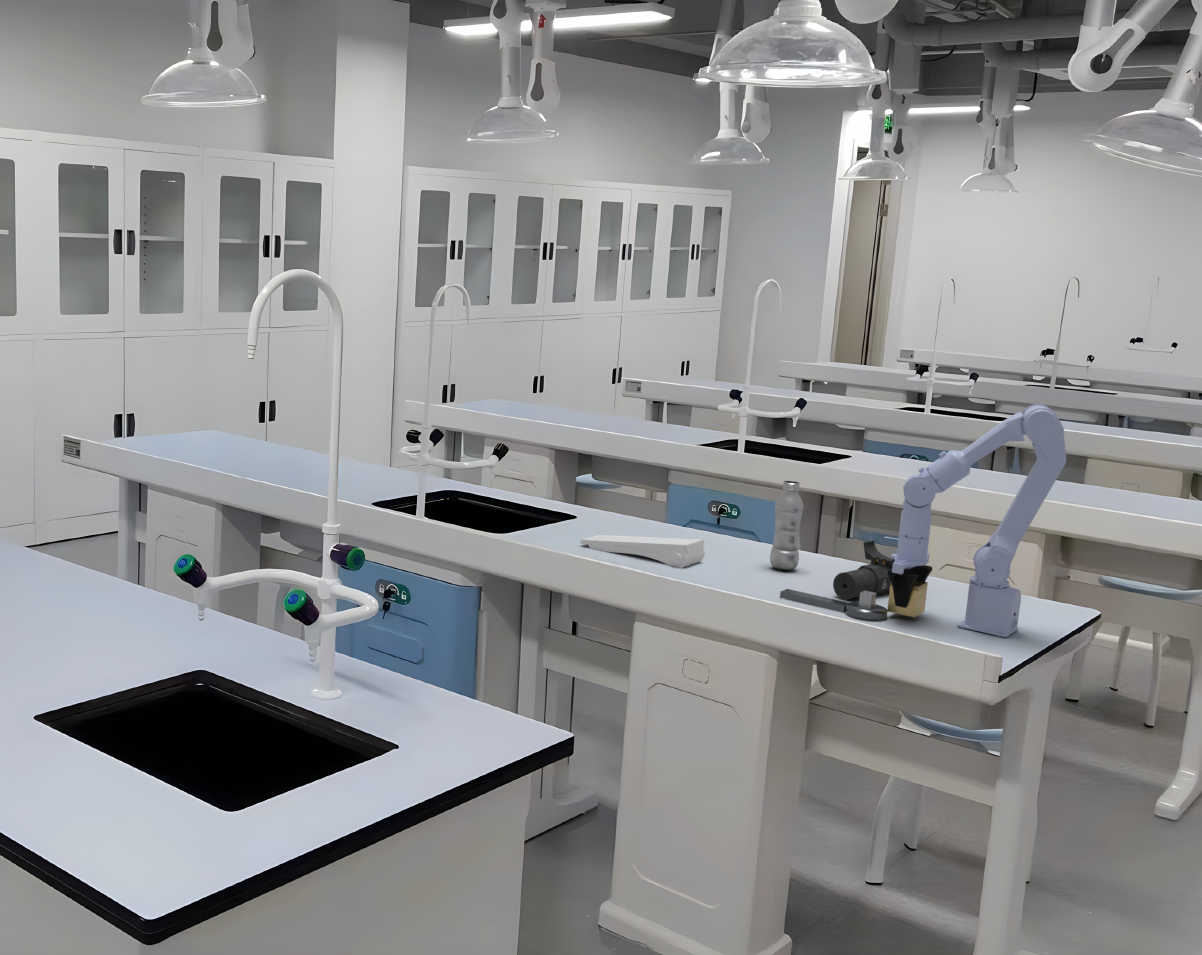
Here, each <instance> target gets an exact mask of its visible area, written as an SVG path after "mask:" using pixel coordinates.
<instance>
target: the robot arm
mask: <svg viewBox="0 0 1202 955" xmlns="http://www.w3.org/2000/svg"><path fill="white" fill-rule="evenodd" d="M1025 435H1026V436H1027V437H1028V439H1029V440H1030V441H1031V445H1032V447H1033V450H1034V453H1035V456H1036V460H1035V462H1034V463H1033V466H1032V467H1031V469H1030V471H1029V473H1028V474H1027V476H1026V478H1025V480H1024V481H1023V483H1022V484H1021V487H1020V488H1019V490H1018V492H1017V493H1016V496H1015V497H1014V499H1013V500H1012V502H1011V503H1010V506H1009V508H1008V509H1007V511H1006V513H1005V514H1004V516H1003V518H1002V520H1001V521H1000V523H999V525H998V527H997V528H996V530H995V531H994V533H993V534H991V536H990V537H989V539H988V541H987V542H986V543H985V544H984V545H983V546H981V547H979V548H978V549H977V550H976V552H975V553H974V555H973V566H974V572H975V573H974V574H973V575H972V576H970V578H969V585H968V593H967V601H966V608H965V617H964V620H962V621H960V622H959V623H957V625H956V626H957V627H958V628H962V629H966V630H971V631H976V632H981V633H985V634H989V635H994V636H999V637H1003V638H1008V637H1009V636H1010V635H1012V634H1013V633H1014V632H1016V631H1018V629H1019V627H1018V624H1019V617H1020V608H1021V602H1022V592H1021V590H1020V589H1018V588H1014V587H1012V586H1011V585H1010V582H1009V580H1008V579H1009V577H1010V576H1011V574H1010V573H1011V564H1012V561H1013V560H1014V558H1015V556H1016V553H1017V550H1018V547H1019V544H1020V543H1021V541H1022V539H1023V538H1024V536H1025V534H1026V532H1027V530H1029V527H1030V525H1031V524H1032V522H1033V520H1034V518H1035V517H1036V515H1037V514H1038V511H1039V510H1040V508H1041V506H1042V505H1043V504H1044V501H1045V499H1046V498H1047V496H1048V495H1049V493H1050V491H1051V489H1052V488H1053V486H1054V485H1055V482H1056V481H1057V479H1058V477H1059V475H1060V474H1061V472H1062V471H1063V469H1064V467H1065V465H1066V463H1067V455H1066V454H1067V452H1066V441H1065V428H1064V426H1063V424H1062V422H1061V420H1060V418H1059V416H1058V415H1057V413H1056V412H1055V411H1054V410H1052V409H1051V408H1050V407H1048V406H1046V405H1045V404H1041V403H1035V404H1031V405H1028V406H1027V407H1025V409H1024V410H1023V411H1022V412H1021V411H1019V412H1016V413H1015V414H1013V415H1011V416H1009V417H1008V418H1006V419H1004V420H1002V421H1001V422H999V424H997V425H996V426H994V427H993V428H991V429H990V430H989V431H987V432H986V433H984V434H983V435H982V436H981V437H979V438H977V440H975V441H973V442H972V443H971V444H969V445H968V446H967V447H965V448H964V449H963V450H955V449H954V450H953V449H950V450H949V451H948V452H946V451H945V450H943V451H941V452H940V453H939V454H938V456H939V458H937V459H936V460H934V461H933V462H931V463H930V464H928V465H927V466H926V467H924V466H922V467H919V468H918V472H919V473H916V474H912V475H910V476H909V477H908V478H907V479H906V481H905V483H904V485H903V486H902V487H903V496H904V500H903V502H902V510H901V513H900V521H899V529H898V531H899V532H898V541H897V550H896V553H892V554H890V558H891V559H895V562H894V563H893V567H892V568H890V569H888V576H889V578H890V580H891V583H892V587H893V593H894V600H895V606H899V607H904V608H906V607H907V605H908V602H909V598H910V593H911V590H912V587H913V585H914V582H915V580H918V581H923V582H927V579H928V577H929V575H930V574H931V573H932V571H933V566H931V565H928V564H929V559H930V553H928V551H929V543H930V534H931V527H932V526H931V524H932V516H933V515H932V513H931V510H932V502H934V500H935V497H936V494H942V493H944V492H945V491H946V490H948V489H950V488H951V487H953V486H954V485H956V484H957V483H958V482H961V480H963V479H964V478H966V477H967V476H969V475H970V473H971V468H972V467H971V466H972V465H973V464H975V463H976V462H977V461H980V460H982V459H983V458H985V457H986V456H987V455H989V454H991V453H992V452H994V451H996V450H997V449H998V448H1000V447H1001V446H1004V445H1005V444H1006V443H1009V442H1010V443H1011V442H1025V440H1026V439H1025V438H1024V436H1025Z"/></svg>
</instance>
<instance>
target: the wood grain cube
mask: <svg viewBox="0 0 1202 955" xmlns="http://www.w3.org/2000/svg"><path fill="white" fill-rule="evenodd" d="M928 584H929V582H928V581H925V582H923V581H918V580H915V582H914V585H913V587H912V590H911V593H910V598H909V602H908V605H907V607H906V608H904V607H899V606H895V600H894V593H893V587H892V583H891V582H890V592H888V593H889V594H888V602H887V610H888V612H889V613H893V614H898V615H902V616H906V617H911V618H916V617H918V616H920V615H921V614H924V613H925V611H926V610H925V608H926V600H927V593H928ZM888 612H887V613H888Z"/></svg>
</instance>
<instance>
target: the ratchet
mask: <svg viewBox="0 0 1202 955" xmlns="http://www.w3.org/2000/svg"><path fill="white" fill-rule="evenodd" d="M876 594H877V593H874V592H869V591H863V592H861V593H860V597H859V601H858V602H857V601H852V602H849V601H848V602H847V601H842V600H838V599H835V598H830V597H826V596H825V597H824V596H821V595H817V594H812V593H807V592H803V591H797V590H794V589H790V588H786V589H782V590H780V594H779V598H780V599H782V598H785V599H784V600H787V599H788V601H791V600H792V601H791V602H796V603H800V604H805V605H809V606H814V607H818V608H822V609H826V610H827V609H828V610H831V611H834V612H835V611H836V612H838V613H839V612H840V613H843V614H844V613H845V616H847V617H850V618H852V619H855V620H859V621H864V622H883V621H886V620H887V619H888V608H887V607H885V606H882V605H879V604H877V603H876V602H877V595H876Z"/></svg>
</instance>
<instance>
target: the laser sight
mask: <svg viewBox="0 0 1202 955" xmlns="http://www.w3.org/2000/svg"><path fill="white" fill-rule="evenodd" d="M875 542H876V540H867V541H863V542H862V543H863V549H864V558H865V560H868V561H870V563H869V564H864V565H861V566H859V567H858V568H857V569H853V570H847V571H844V572H840V573H838V574H836V576H834V579H833V583H832V586H833V587H832V588H833V591H834V593H835V594H836V596H837V597H838V598H839V599H842V600H851V599H854V598H855V599H856V598H860V593H861V592H863V591H869V592H874V593H877V594H876V596H879V595H883V594H886V593H889V592H890V582H891V580H890V578H889V576H888V569H890V568H892V567H893V563H894V562H895V559H891V557H889V556H887V555H885V554H883V553H882V552H880V551H879V550H878V549H877V547H876V543H875Z"/></svg>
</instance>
